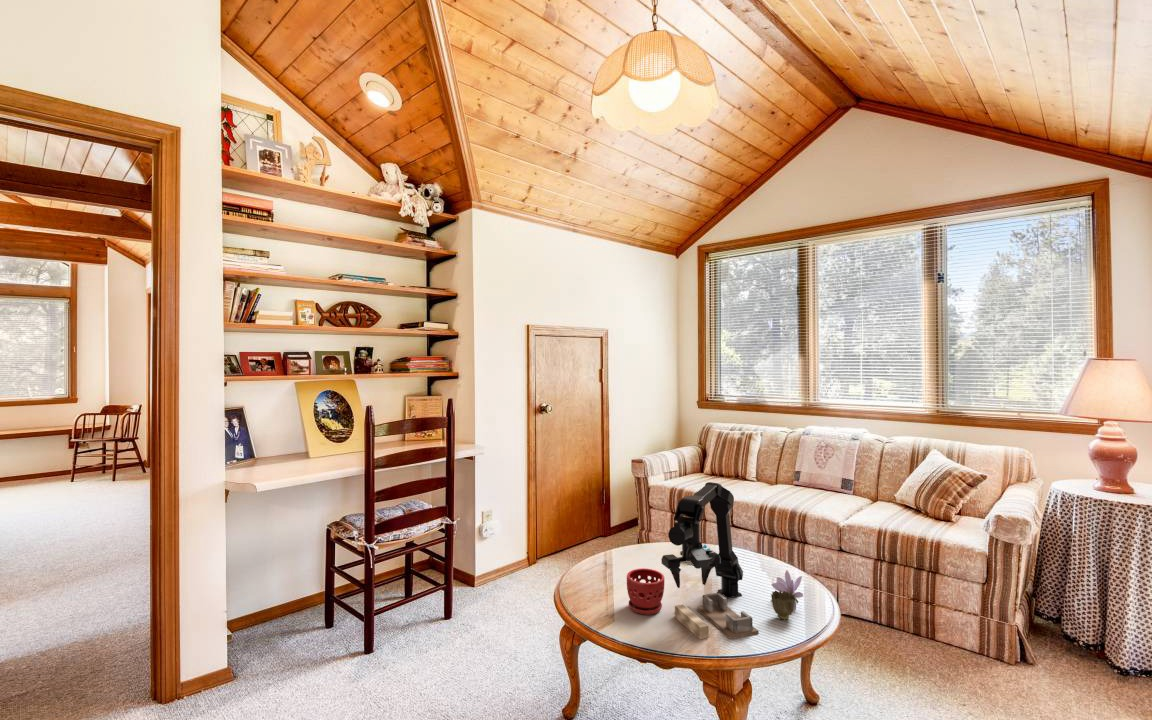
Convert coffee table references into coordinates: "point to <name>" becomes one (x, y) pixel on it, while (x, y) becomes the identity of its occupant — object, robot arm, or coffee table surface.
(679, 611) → the birch slat
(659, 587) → the plant pot
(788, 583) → the water lily
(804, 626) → the coffee table surface
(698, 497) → the robot arm
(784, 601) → the cup
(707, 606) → the end cap base
